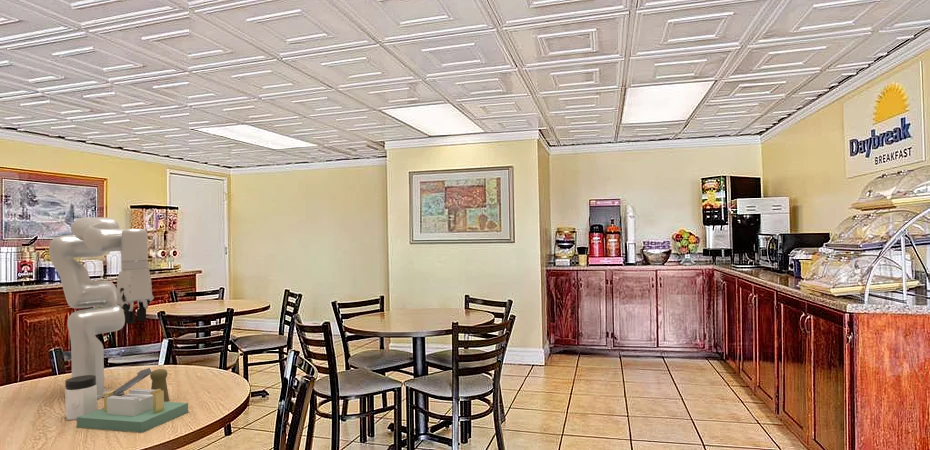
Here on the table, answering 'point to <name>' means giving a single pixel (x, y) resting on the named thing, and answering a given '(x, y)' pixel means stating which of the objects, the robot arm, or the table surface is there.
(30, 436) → the table surface
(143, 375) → the strap
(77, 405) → the jar
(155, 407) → the lug
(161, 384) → the cork
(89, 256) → the robot arm
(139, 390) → the board
